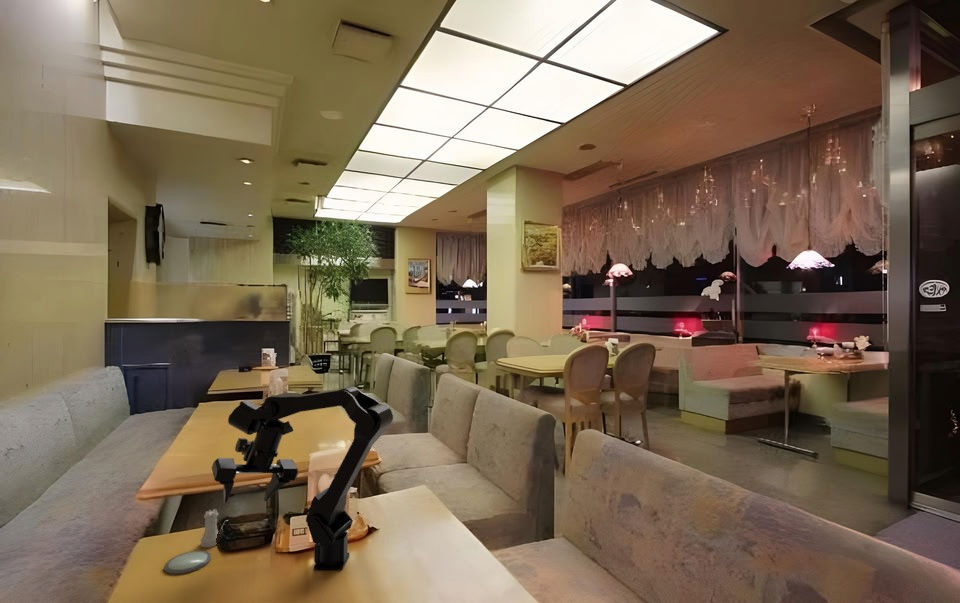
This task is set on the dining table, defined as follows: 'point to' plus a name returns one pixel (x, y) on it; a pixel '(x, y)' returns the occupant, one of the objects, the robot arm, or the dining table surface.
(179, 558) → the coaster
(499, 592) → the dining table surface
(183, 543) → the dining table surface
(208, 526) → the rook chess piece
